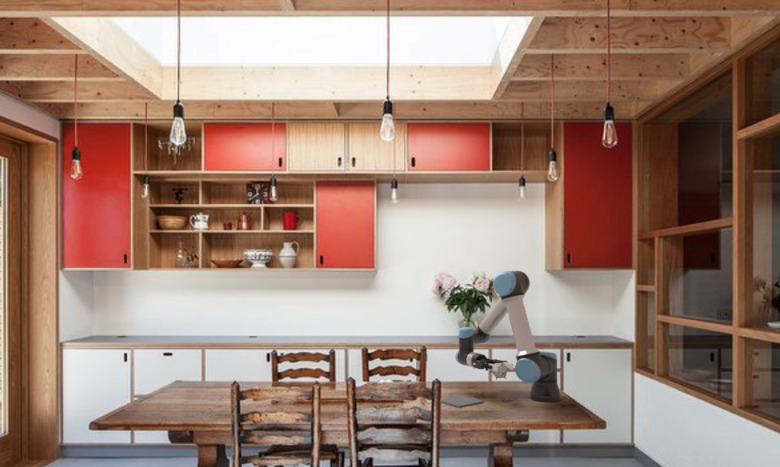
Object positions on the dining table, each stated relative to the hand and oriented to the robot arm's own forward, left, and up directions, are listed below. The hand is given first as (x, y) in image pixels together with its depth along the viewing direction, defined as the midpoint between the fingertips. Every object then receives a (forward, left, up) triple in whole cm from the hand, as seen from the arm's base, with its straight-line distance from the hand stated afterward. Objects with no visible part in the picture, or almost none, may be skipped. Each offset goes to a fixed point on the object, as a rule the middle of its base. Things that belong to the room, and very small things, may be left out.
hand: (504, 367), depth 297 cm
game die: (-1, -5, -6) cm, 8 cm away
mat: (+11, -19, -18) cm, 29 cm away
